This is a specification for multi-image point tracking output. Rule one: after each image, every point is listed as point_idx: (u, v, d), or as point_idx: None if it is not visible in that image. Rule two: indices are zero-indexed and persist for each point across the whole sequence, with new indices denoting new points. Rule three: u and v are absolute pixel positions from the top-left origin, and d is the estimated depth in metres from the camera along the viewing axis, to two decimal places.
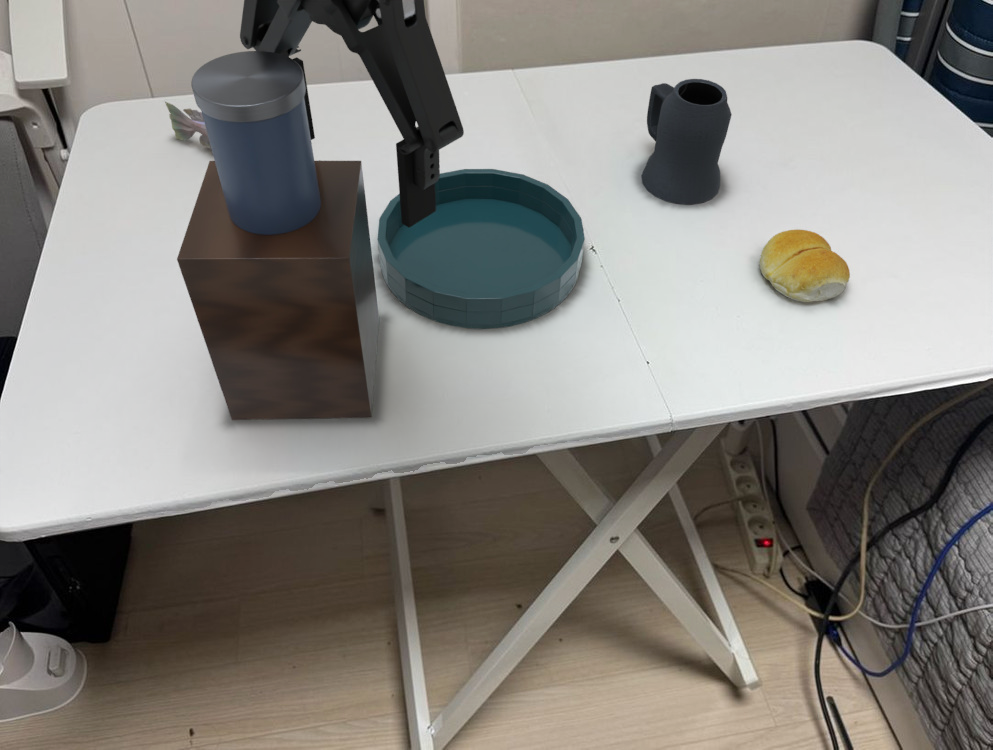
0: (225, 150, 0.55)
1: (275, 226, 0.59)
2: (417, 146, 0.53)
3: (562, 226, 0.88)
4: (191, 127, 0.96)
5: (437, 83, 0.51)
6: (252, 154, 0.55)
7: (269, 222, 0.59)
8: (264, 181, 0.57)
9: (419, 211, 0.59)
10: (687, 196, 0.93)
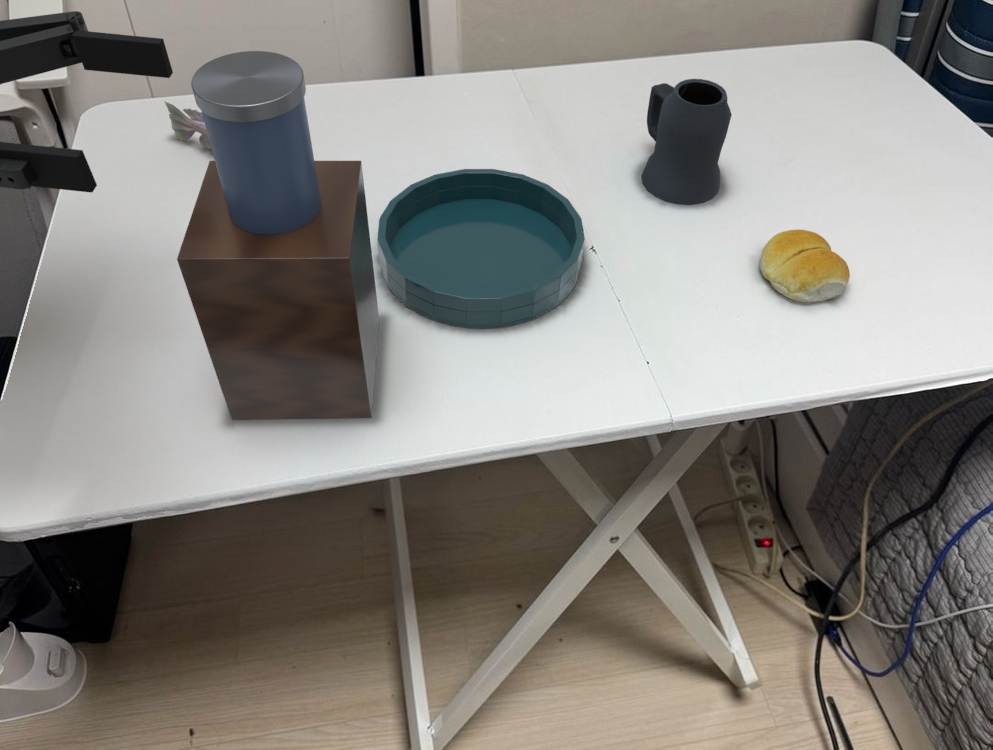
0: (225, 150, 0.55)
1: (275, 226, 0.59)
2: None
3: (562, 226, 0.88)
4: (191, 127, 0.96)
5: None
6: (252, 154, 0.55)
7: (269, 222, 0.59)
8: (264, 181, 0.57)
9: None
10: (687, 196, 0.93)
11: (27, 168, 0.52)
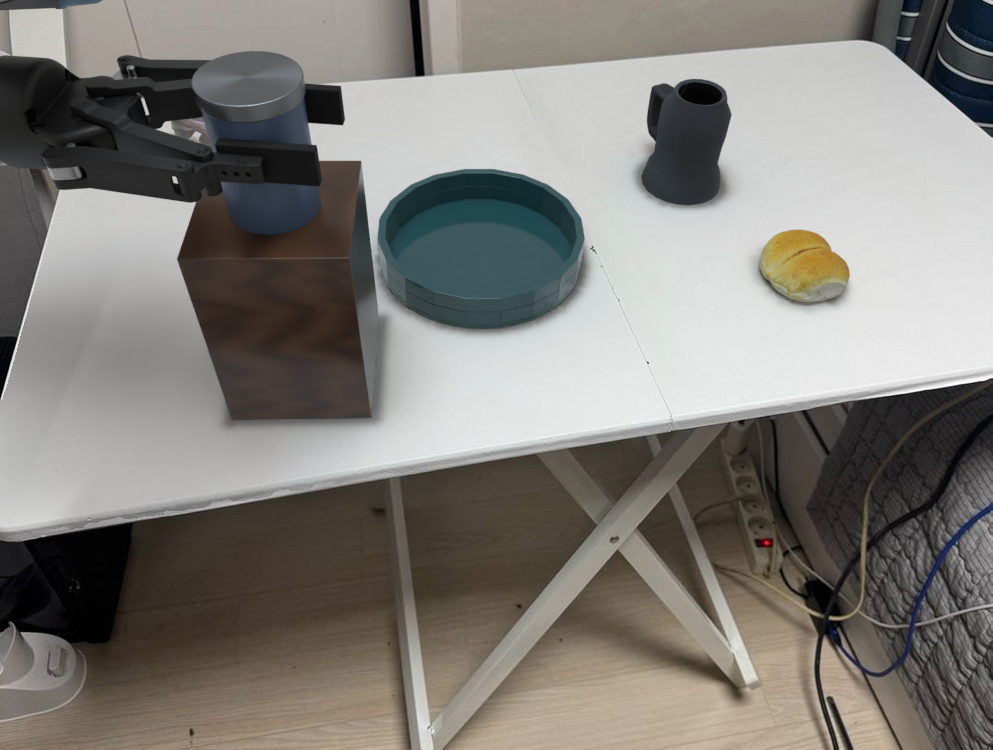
0: None
1: (275, 226, 0.59)
2: None
3: (562, 226, 0.88)
4: (191, 126, 0.96)
5: None
6: None
7: (269, 222, 0.59)
8: None
9: None
10: (687, 196, 0.93)
11: (263, 163, 0.54)
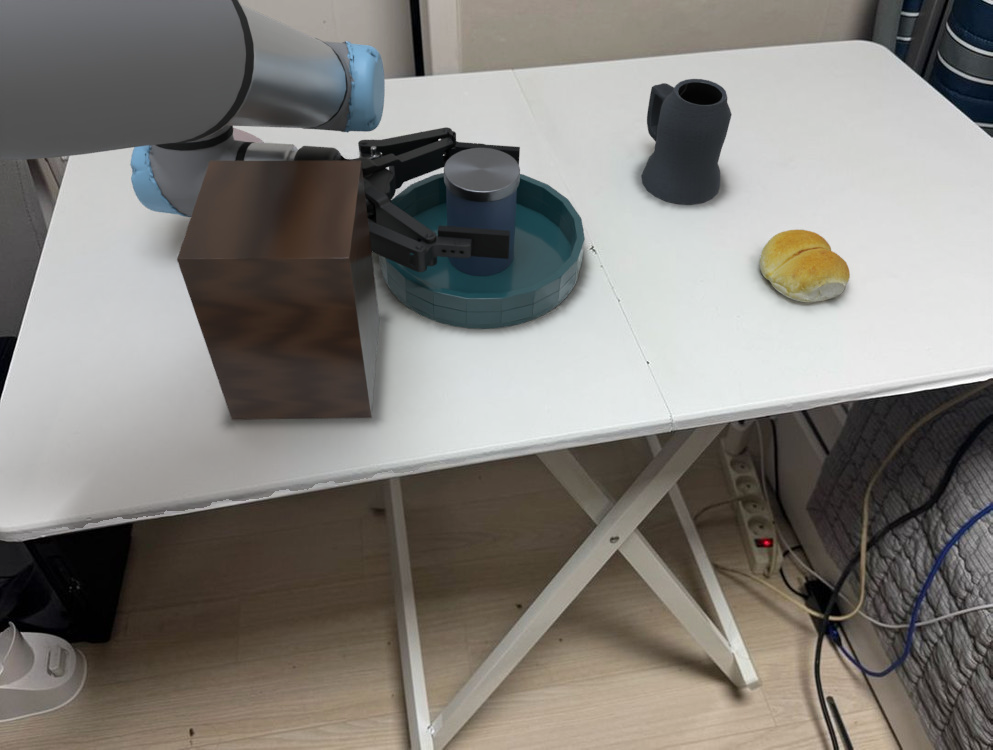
0: (464, 219, 0.79)
1: (487, 270, 0.83)
2: None
3: (562, 226, 0.88)
4: None
5: None
6: (483, 222, 0.79)
7: (484, 267, 0.83)
8: None
9: None
10: (687, 196, 0.93)
11: (471, 244, 0.75)
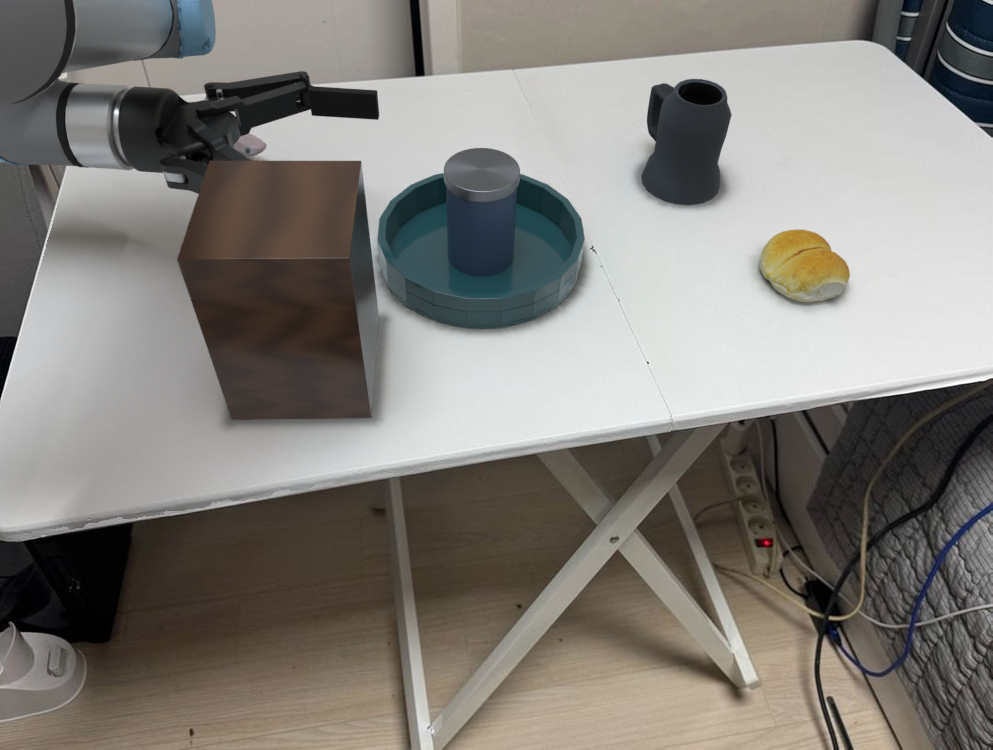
0: (464, 219, 0.79)
1: (487, 270, 0.83)
2: None
3: (562, 226, 0.88)
4: None
5: None
6: (483, 222, 0.79)
7: (484, 267, 0.83)
8: (487, 239, 0.80)
9: None
10: (687, 196, 0.93)
11: None
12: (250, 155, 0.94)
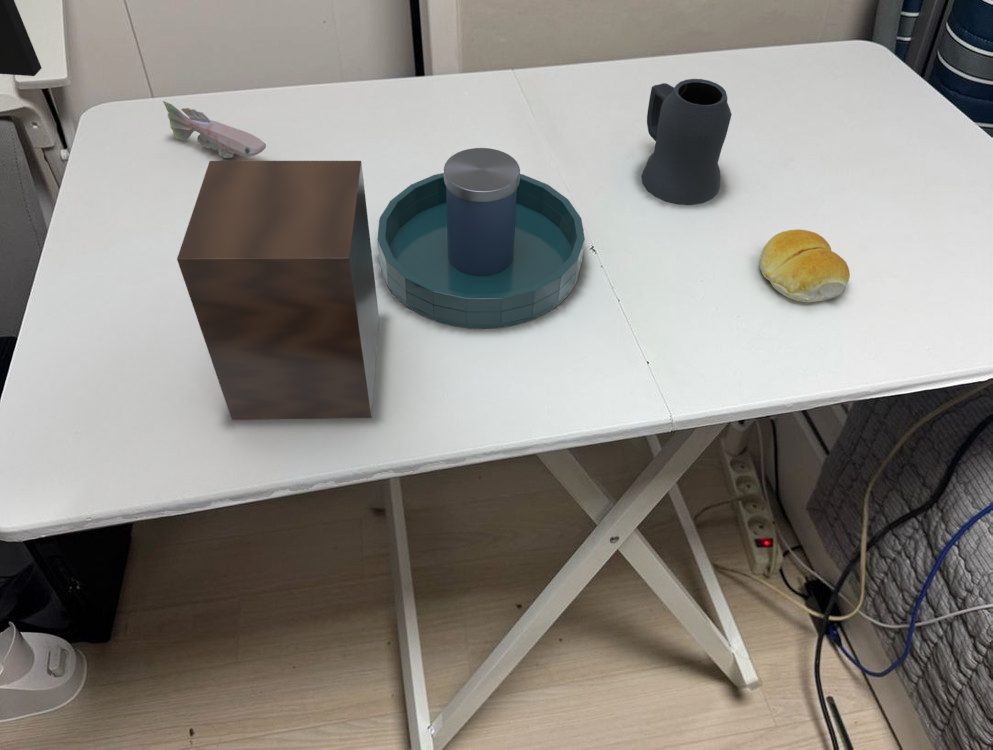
0: (464, 219, 0.79)
1: (487, 270, 0.83)
2: None
3: (562, 226, 0.88)
4: (189, 126, 0.96)
5: None
6: (483, 222, 0.79)
7: (484, 267, 0.83)
8: (487, 239, 0.80)
9: None
10: (687, 196, 0.93)
11: None
12: (250, 155, 0.94)
